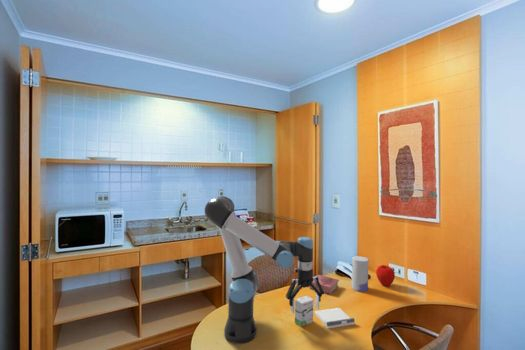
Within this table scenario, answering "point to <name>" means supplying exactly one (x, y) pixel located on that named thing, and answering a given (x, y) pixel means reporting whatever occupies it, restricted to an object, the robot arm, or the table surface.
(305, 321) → the ink box
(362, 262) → the container
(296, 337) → the table surface
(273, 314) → the table surface
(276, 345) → the table surface
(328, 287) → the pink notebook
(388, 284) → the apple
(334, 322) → the white flat box
